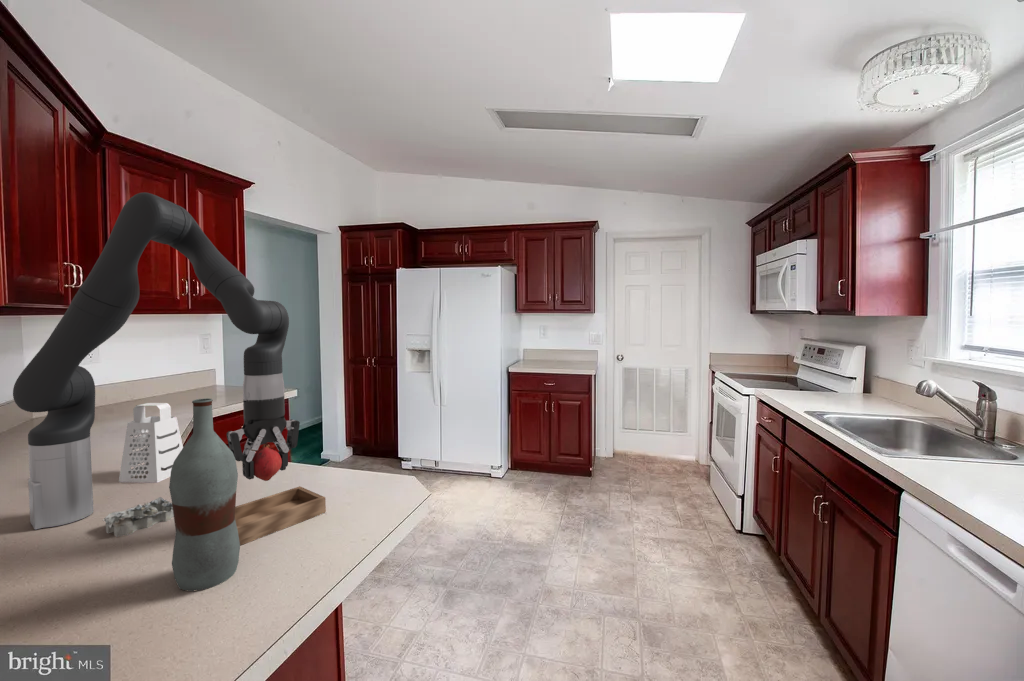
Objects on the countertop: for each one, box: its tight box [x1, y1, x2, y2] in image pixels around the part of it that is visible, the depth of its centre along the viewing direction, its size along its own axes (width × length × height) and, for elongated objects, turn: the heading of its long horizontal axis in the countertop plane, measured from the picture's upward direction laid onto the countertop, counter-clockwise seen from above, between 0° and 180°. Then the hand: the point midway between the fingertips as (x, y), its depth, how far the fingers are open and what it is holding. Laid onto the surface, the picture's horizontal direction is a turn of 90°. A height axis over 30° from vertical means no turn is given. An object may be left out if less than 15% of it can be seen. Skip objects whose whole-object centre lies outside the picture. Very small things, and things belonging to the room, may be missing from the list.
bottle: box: [168, 397, 241, 592], centre depth 71 cm, size 9×9×30 cm
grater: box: [118, 402, 184, 484], centre depth 119 cm, size 10×10×20 cm
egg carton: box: [102, 496, 174, 538], centre depth 91 cm, size 11×8×4 cm
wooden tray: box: [235, 486, 327, 546], centre depth 91 cm, size 20×11×4 cm, turn 144°
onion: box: [252, 442, 282, 482], centre depth 91 cm, size 6×6×8 cm
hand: (266, 473), depth 91 cm, fingers closed on onion, 6 cm apart
